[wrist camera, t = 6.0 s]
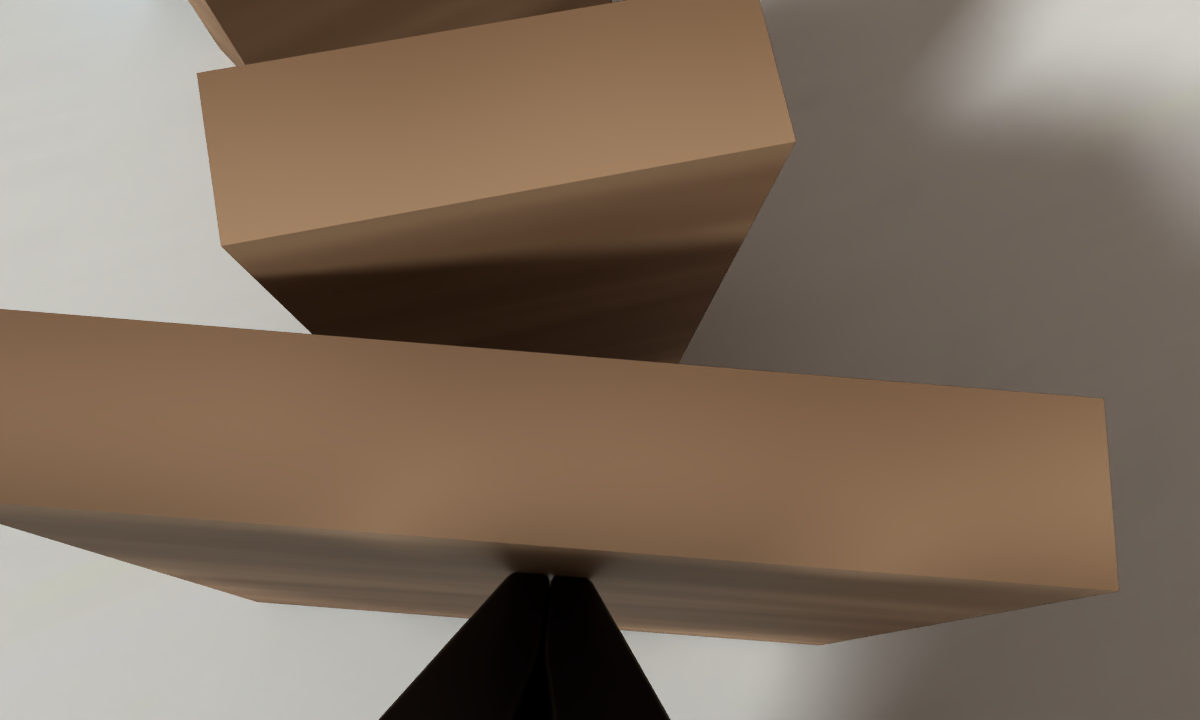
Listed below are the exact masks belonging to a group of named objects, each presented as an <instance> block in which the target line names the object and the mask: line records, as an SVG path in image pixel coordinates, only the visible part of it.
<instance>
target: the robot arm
mask: <svg viewBox="0 0 1200 720" xmlns="http://www.w3.org/2000/svg"><path fill="white" fill-rule="evenodd" d="M379 720H670V718H669V716H668V714H667V713H666V711H665V709H664V707H663V706H662V704H661V702H660V700H659V699H658V697H657V695H656V693H655V691H654V690H653V688H652V686H651V684H650V683H649V681H648V679H647V677H646V676H645V674H644V672H643V670H642V669H641V667H640V665H639V663H638V662H637V660H636V658H635V656H634V654H633V653H632V651H631V649H630V647H629V646H628V644H627V642H626V640H625V639H624V637H623V635H622V633H621V632H620V630H619V628H618V626H617V625H616V623H615V621H614V619H613V617H612V616H611V614H610V612H609V610H608V609H607V607H606V605H605V603H604V602H603V600H602V598H601V596H600V595H599V593H598V591H597V589H596V588H595V586H594V584H593V583H592V581H591V580H589V579H587V578H580V577H568V576H555V577H553V578H552V580H551V582H550V580H549V578H548V577H547V576H546V575H543V574H530V573H517V572H515V573H511V574H510V575H508V576H507V577H506V579H505V580H504V581H503V582H502V583H501V584H500V585H499V586H498V587H497V589H496V590H495V591H494V592H493V593H492V594H491V595H490V596H489V597H488V599H487V600H486V601H485V602H484V603H483V604H482V605H481V606H480V607H479V609H478V610H477V611H476V612H475V613H474V614H473V615H472V616H471V617H470V619H469V620H468V621H467V622H466V623H465V624H464V625H463V626H462V627H461V629H460V630H459V631H458V632H457V633H456V634H455V635H454V636H453V638H452V639H451V640H450V641H449V642H448V643H447V644H446V645H445V646H444V648H443V649H442V650H441V651H440V652H439V653H438V654H437V655H436V656H435V658H434V659H433V660H432V661H431V662H430V663H429V664H428V665H427V666H426V668H425V669H424V670H423V671H422V672H421V673H420V674H419V675H418V676H417V678H416V679H415V680H414V681H413V682H412V683H411V684H410V685H409V686H408V688H407V689H406V690H405V691H404V692H403V693H402V694H401V695H400V696H399V698H398V699H397V700H396V701H395V702H394V703H393V704H392V705H391V706H390V708H389V709H388V710H387V711H386V712H385V713H384V714H383V715H382V717H381V718H380V719H379Z"/></svg>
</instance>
